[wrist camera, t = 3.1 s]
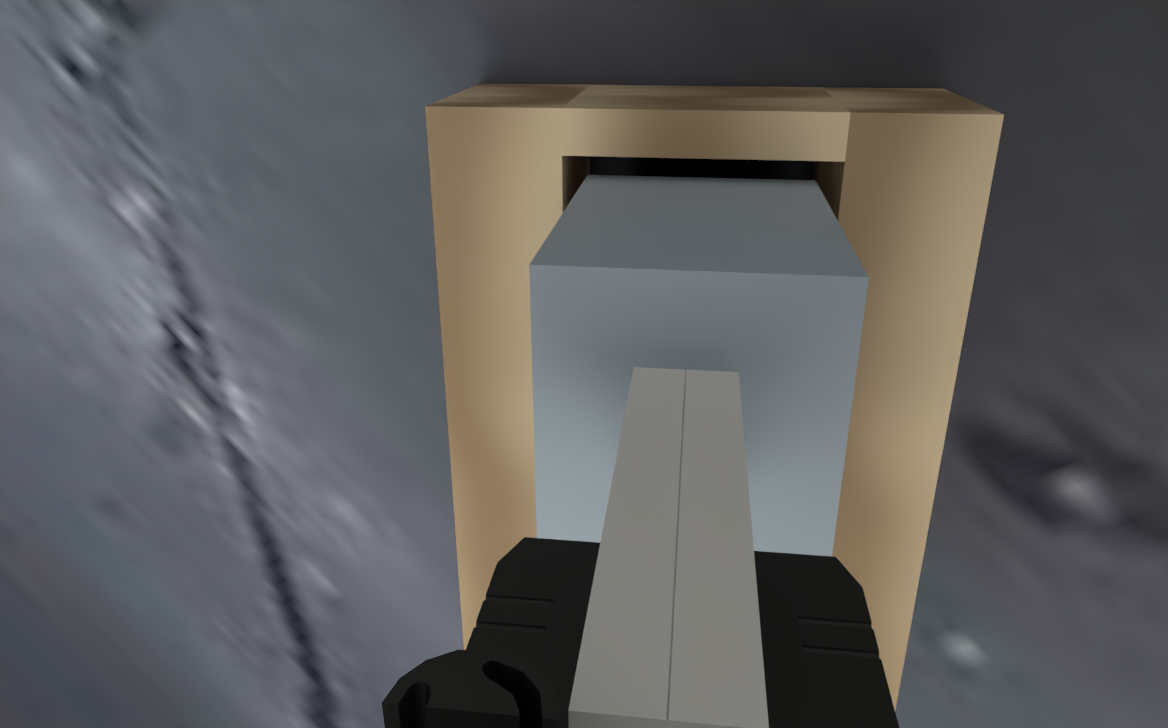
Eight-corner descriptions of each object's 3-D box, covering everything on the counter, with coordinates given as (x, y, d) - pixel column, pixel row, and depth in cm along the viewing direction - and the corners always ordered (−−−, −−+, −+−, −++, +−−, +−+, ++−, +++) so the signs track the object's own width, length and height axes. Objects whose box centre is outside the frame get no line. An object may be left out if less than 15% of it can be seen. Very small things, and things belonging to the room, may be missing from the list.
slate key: (815, 180, 19) (869, 277, 13) (794, 388, 21) (831, 562, 15) (587, 174, 20) (529, 265, 13) (587, 377, 22) (536, 541, 15)
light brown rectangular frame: (943, 88, 22) (1004, 114, 18) (842, 738, 31) (866, 869, 26) (480, 83, 24) (424, 106, 19) (509, 705, 32) (476, 824, 28)
